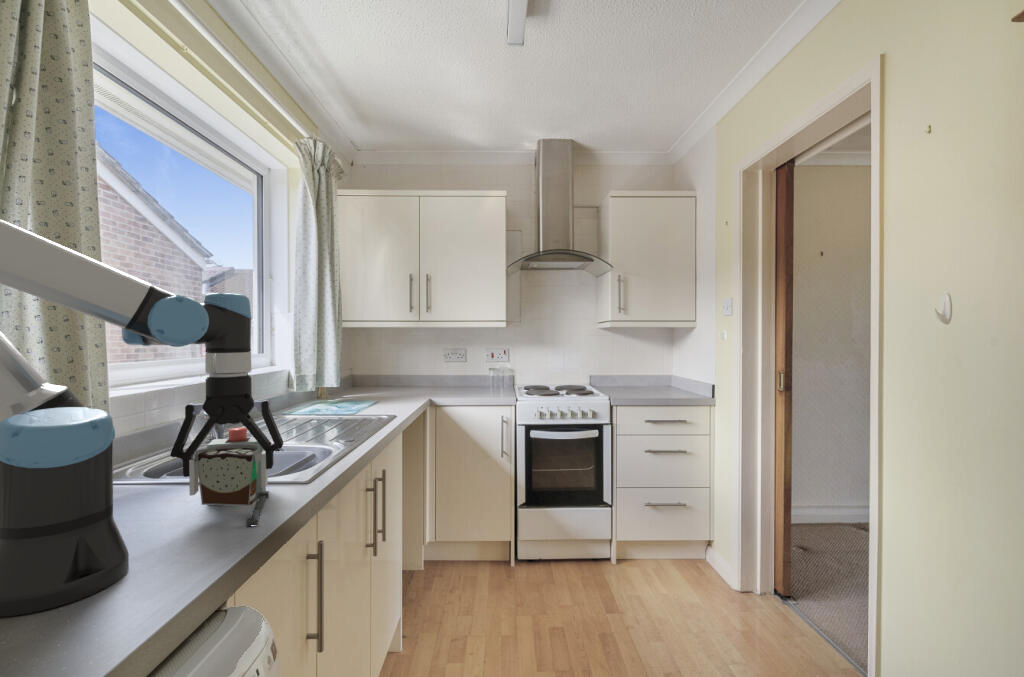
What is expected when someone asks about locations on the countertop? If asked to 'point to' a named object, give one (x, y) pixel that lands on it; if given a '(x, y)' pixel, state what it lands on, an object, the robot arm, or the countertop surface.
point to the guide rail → (257, 509)
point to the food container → (228, 474)
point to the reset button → (237, 434)
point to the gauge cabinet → (249, 441)
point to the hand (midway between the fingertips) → (230, 489)
